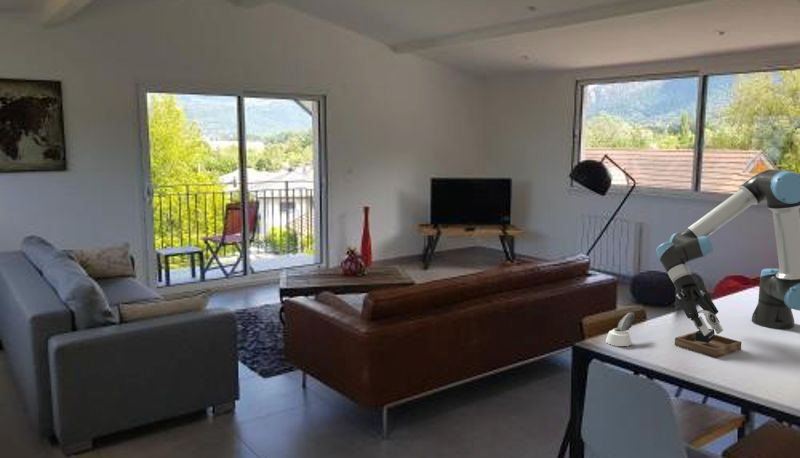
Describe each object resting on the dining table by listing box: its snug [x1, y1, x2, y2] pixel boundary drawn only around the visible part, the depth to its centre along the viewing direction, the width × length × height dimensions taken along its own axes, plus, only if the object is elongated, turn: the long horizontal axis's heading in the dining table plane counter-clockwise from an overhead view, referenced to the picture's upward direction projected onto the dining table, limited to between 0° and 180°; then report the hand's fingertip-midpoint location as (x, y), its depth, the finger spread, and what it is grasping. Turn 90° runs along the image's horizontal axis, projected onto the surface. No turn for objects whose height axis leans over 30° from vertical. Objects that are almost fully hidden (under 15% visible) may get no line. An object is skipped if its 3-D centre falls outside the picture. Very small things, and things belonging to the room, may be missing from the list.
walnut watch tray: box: [674, 330, 743, 359], centre depth 229 cm, size 16×16×3 cm
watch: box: [692, 309, 718, 343], centre depth 229 cm, size 6×8×11 cm
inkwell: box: [605, 311, 636, 347], centre depth 237 cm, size 9×18×10 cm, turn 139°
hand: (713, 332), depth 226 cm, fingers closed on watch, 6 cm apart
